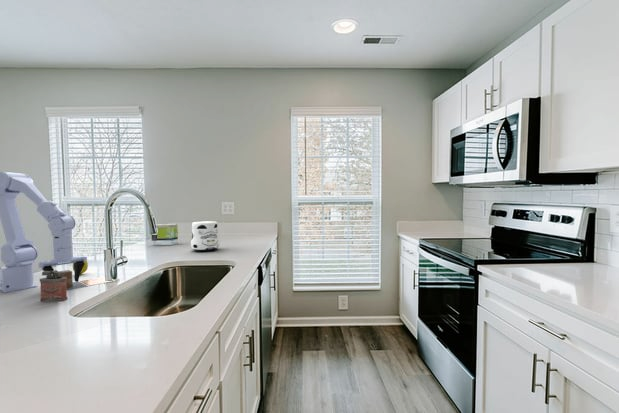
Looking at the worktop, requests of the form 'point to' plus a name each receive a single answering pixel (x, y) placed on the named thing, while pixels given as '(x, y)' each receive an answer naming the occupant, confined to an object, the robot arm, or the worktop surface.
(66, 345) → the worktop surface
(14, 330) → the worktop surface
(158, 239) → the tea box
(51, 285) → the lighter
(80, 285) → the mat
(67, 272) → the walnut block
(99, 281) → the tile
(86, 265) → the lemon
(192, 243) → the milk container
